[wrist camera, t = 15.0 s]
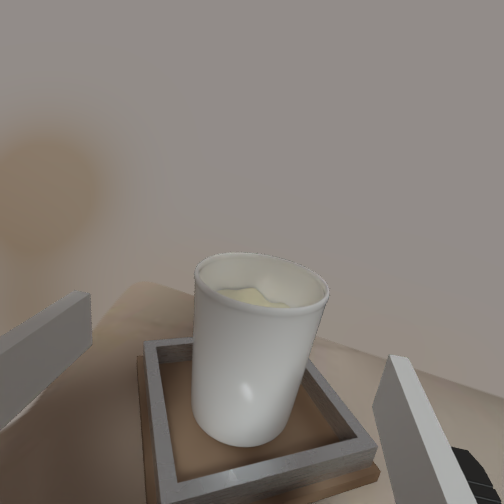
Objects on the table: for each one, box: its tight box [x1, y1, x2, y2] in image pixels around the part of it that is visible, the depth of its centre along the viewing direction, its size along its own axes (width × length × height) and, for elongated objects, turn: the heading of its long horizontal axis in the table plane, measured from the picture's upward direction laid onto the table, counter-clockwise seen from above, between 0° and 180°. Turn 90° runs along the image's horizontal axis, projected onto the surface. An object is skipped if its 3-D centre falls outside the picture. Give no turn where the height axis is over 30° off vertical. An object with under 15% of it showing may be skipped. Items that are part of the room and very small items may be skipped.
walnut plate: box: [137, 356, 381, 504], centre depth 28 cm, size 16×16×1 cm
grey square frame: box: [143, 337, 378, 504], centre depth 27 cm, size 15×15×2 cm
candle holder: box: [191, 252, 330, 447], centre depth 26 cm, size 10×10×12 cm
